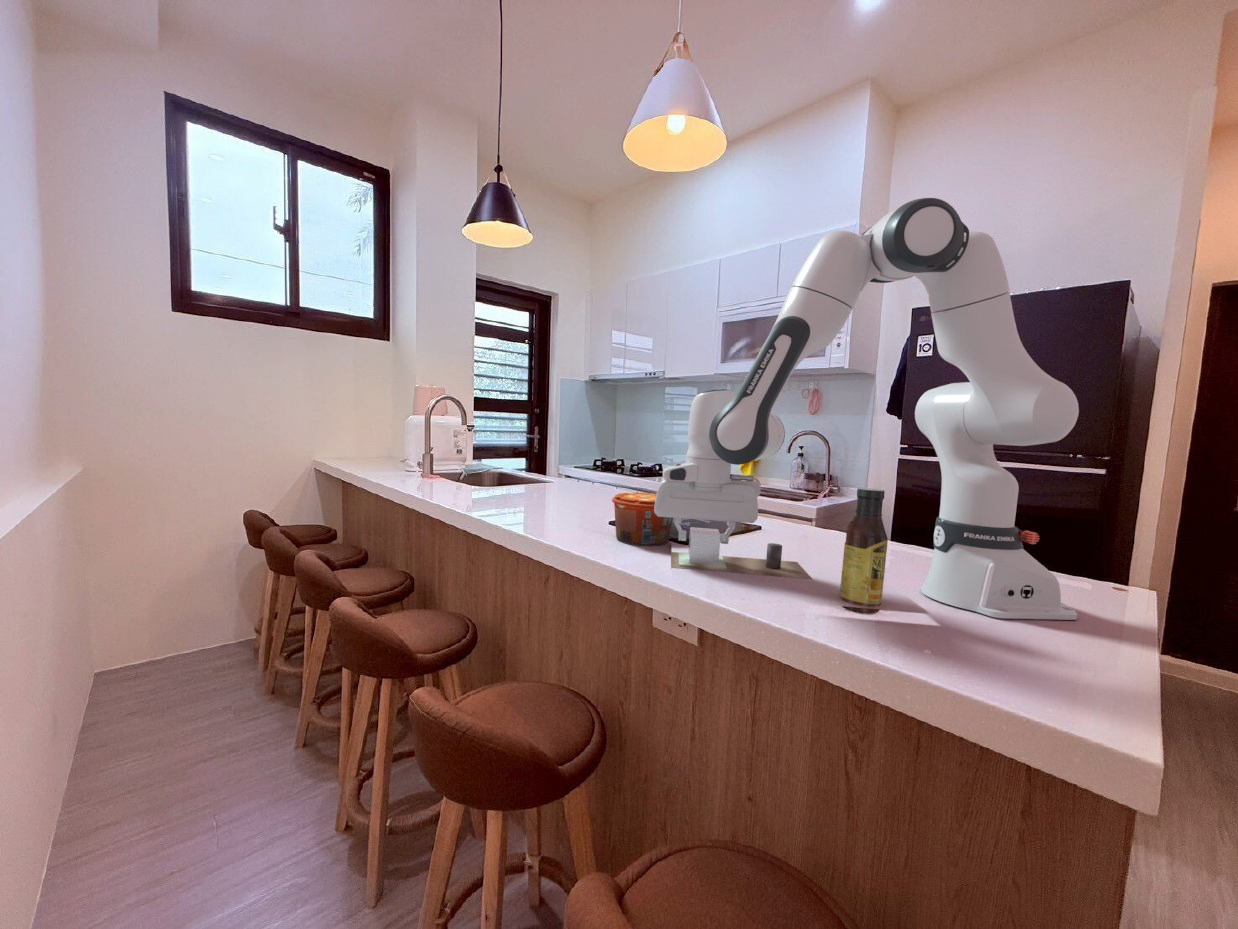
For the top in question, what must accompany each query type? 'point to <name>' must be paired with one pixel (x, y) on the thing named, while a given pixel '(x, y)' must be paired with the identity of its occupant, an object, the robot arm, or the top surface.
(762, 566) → the post board
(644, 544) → the food container
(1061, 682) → the top surface
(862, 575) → the sauce bottle
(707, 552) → the white cube
